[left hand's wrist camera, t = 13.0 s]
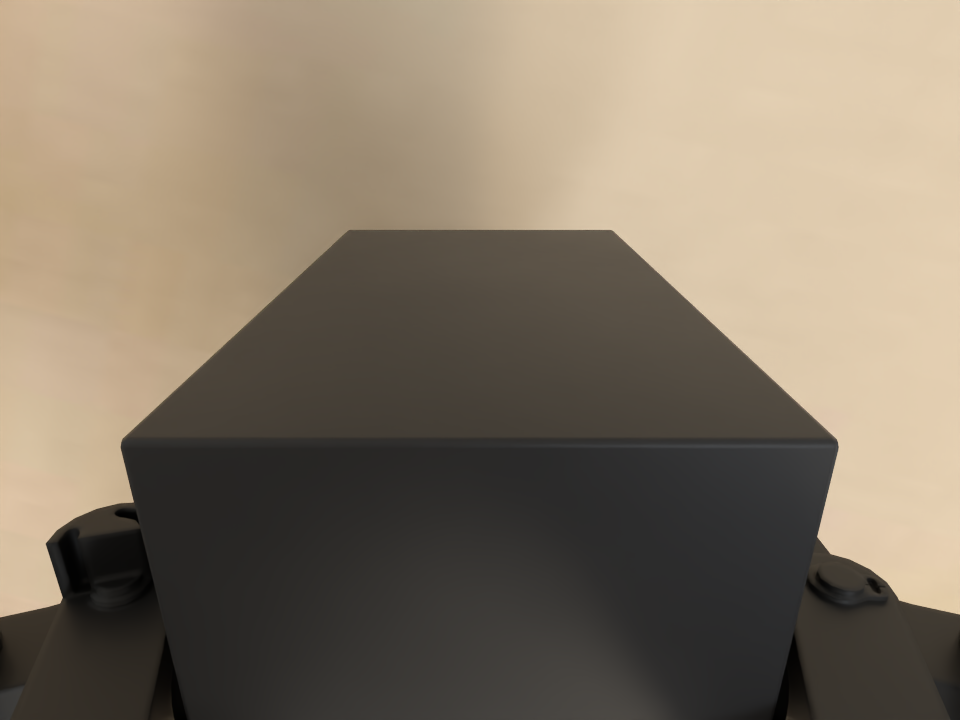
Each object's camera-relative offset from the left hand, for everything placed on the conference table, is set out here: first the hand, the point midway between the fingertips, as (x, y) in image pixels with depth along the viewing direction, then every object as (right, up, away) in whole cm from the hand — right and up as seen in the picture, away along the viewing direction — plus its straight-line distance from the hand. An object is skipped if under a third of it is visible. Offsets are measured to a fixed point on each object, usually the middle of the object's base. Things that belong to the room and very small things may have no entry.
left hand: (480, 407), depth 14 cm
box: (0, -8, +4) cm, 9 cm away
